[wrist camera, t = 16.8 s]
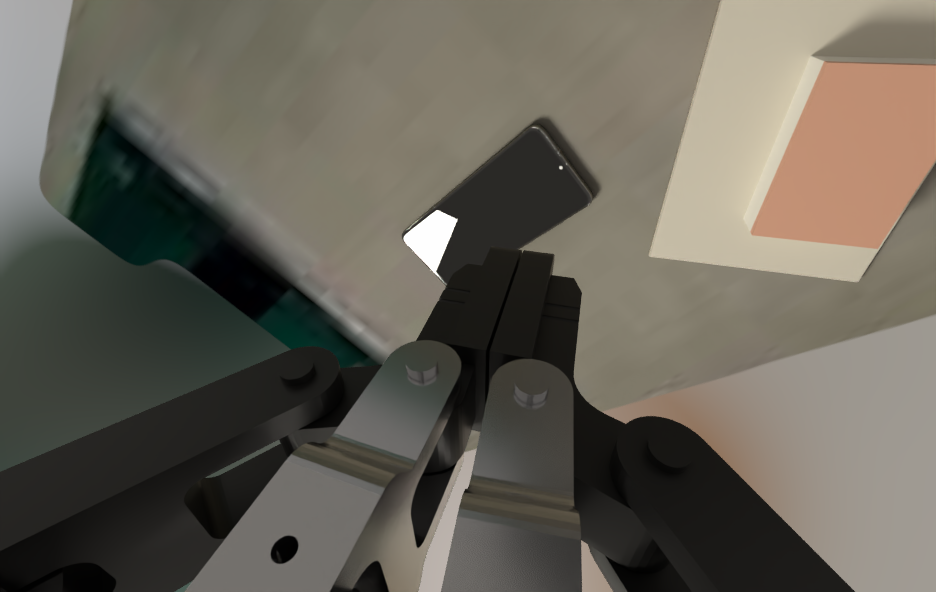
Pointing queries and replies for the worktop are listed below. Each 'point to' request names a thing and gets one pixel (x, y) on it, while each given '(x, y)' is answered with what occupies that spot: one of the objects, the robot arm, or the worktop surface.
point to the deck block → (848, 151)
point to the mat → (769, 124)
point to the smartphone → (500, 205)
